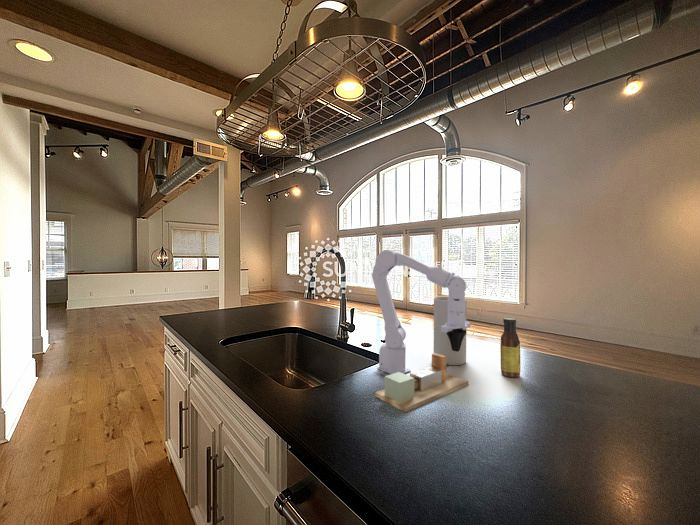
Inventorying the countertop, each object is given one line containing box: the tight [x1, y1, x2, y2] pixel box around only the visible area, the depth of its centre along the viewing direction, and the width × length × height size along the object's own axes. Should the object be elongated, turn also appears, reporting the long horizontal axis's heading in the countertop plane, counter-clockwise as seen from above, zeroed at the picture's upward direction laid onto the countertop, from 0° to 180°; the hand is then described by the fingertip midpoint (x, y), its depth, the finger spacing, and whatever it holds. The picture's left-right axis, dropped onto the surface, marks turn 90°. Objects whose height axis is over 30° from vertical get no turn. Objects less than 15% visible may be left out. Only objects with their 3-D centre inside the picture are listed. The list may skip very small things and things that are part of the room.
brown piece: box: [413, 352, 447, 389], centre depth 94 cm, size 4×20×8 cm, turn 128°
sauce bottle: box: [499, 317, 521, 378], centre depth 109 cm, size 6×6×20 cm
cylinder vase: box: [433, 296, 468, 366], centre depth 124 cm, size 12×12×25 cm
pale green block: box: [384, 372, 414, 402], centre depth 88 cm, size 6×6×5 cm
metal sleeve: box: [409, 365, 442, 392], centre depth 96 cm, size 4×10×4 cm, turn 128°
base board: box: [374, 373, 469, 413], centre depth 95 cm, size 12×30×1 cm, turn 128°
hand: (455, 350), depth 106 cm, fingers closed
